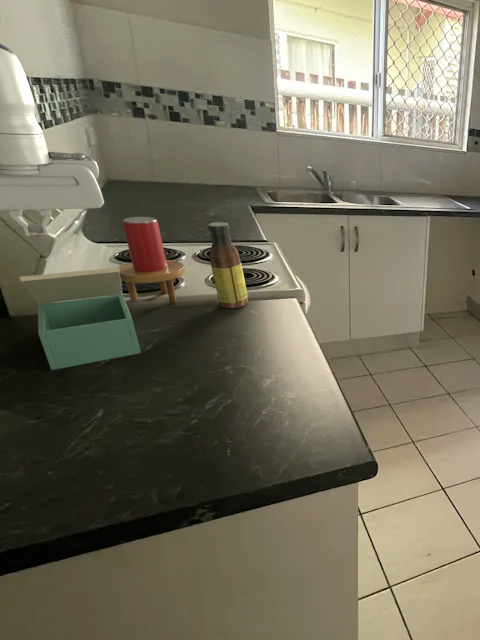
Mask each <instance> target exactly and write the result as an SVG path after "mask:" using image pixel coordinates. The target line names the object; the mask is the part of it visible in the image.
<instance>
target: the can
mask: <svg viewBox="0 0 480 640" xmlns="http://www.w3.org/2000/svg"><path fill="white" fill-rule="evenodd" d="M121 222H122V225H123V226H122V227H123V231H124V234H125V239H126V243H127V246H128V251H129V255H130V259H131V263H132V264H133V268H134V270H136V271H142V272H150V271H158V270H162V269H165V268H167V263H166V260H167V259H166V254H165V248H164V244H163V240H162V235H161V231H160V226H159V220H158V219H157V218H155V217H151V216H150V217H149V216H132V217H127V218H124V219H122V220H121Z"/></svg>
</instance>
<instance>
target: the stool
mask: <svg viewBox="0 0 480 640" xmlns="http://www.w3.org/2000/svg"><path fill="white" fill-rule="evenodd" d="M166 263H167V268H165V269H162V270H158V271H150V272H142V271H136V270H134V268H133V264H132V262H128V263H124V264H122V265H120V266H117V268H118V269H119V273H120V280H121V281H123V282H125V283H126V287H127V291H128V295H129V299H130V301H131V302H136V301H137V302H139V297H138V293H137V288H136V284H149V283H159V287H160V288H159V289H160V292H161V294H162V293H166V294H167V295H168V300H169V304H177V303H178V300H177V295H176V291H175V287H174V282H173V281H174V279H177V278H180V277H182V276H183V275H185V273H186V268H185V265H184V263H182V262H180V261H177V260H172V259H166Z"/></svg>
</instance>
